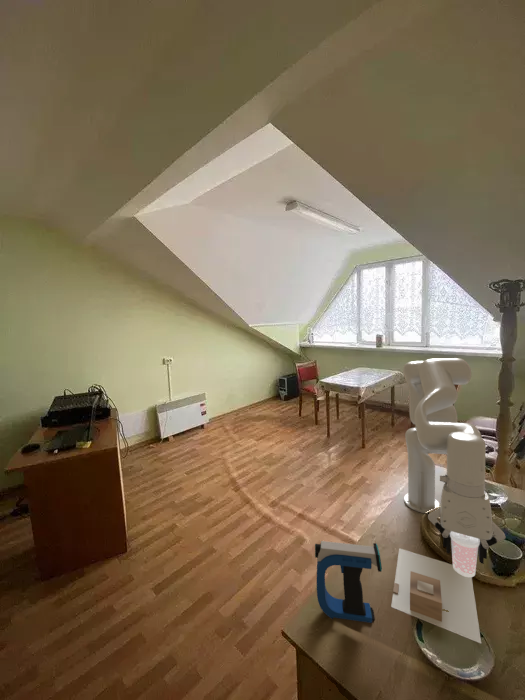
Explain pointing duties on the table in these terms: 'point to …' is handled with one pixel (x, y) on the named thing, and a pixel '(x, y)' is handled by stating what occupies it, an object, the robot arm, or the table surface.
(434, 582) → the block
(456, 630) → the subfloor panel
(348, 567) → the handheld scanner
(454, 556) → the beverage cup
